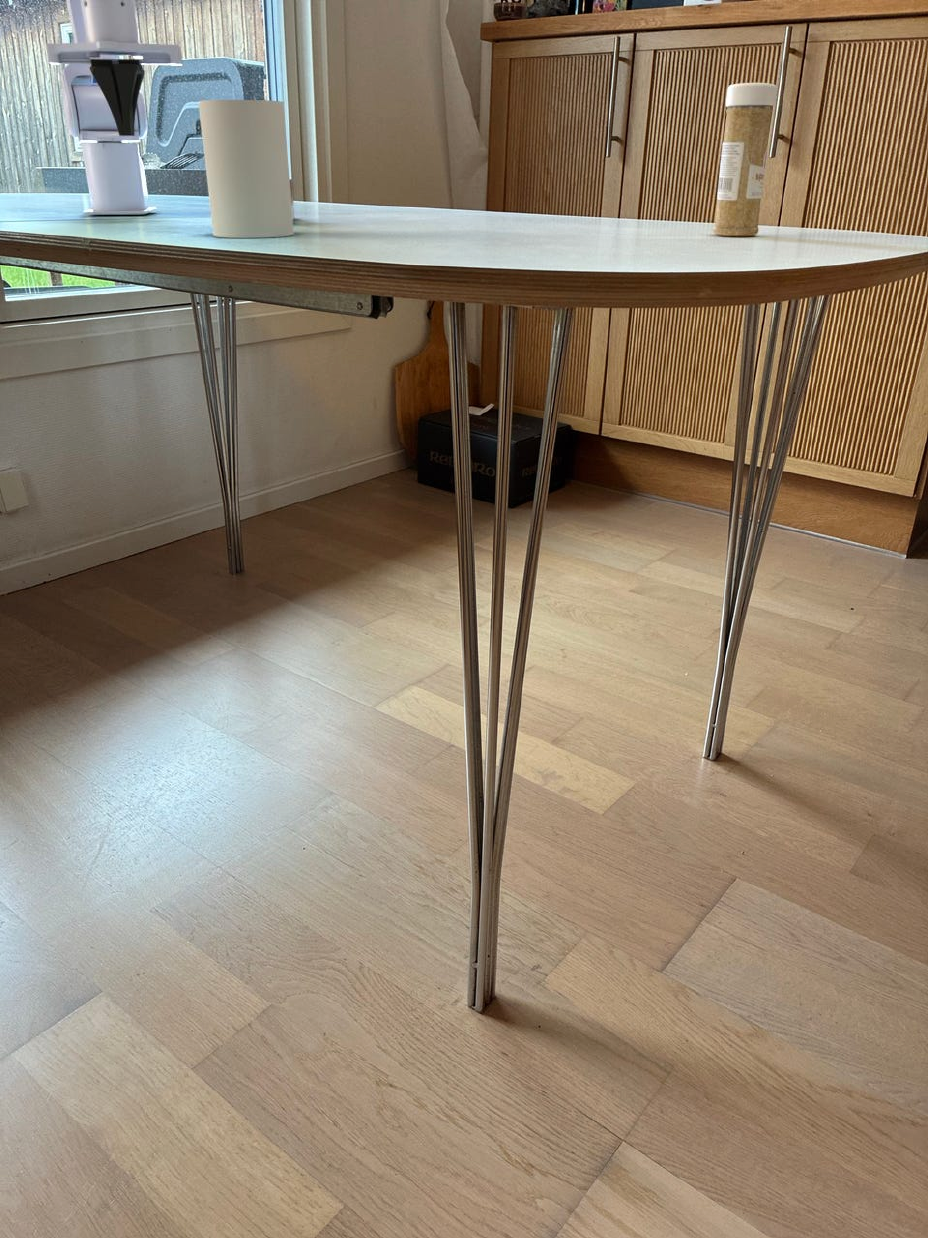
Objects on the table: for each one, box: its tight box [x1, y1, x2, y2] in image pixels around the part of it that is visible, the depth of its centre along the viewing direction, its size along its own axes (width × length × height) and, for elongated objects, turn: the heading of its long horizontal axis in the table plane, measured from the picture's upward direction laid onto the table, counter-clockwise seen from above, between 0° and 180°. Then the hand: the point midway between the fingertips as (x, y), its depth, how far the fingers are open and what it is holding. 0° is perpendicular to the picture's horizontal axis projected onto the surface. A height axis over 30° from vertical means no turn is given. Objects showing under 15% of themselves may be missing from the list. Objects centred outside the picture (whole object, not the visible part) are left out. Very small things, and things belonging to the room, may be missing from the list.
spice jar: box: [712, 82, 777, 237], centre depth 93 cm, size 5×5×13 cm
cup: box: [198, 99, 294, 239], centre depth 94 cm, size 8×8×12 cm
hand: (126, 135), depth 111 cm, fingers closed
